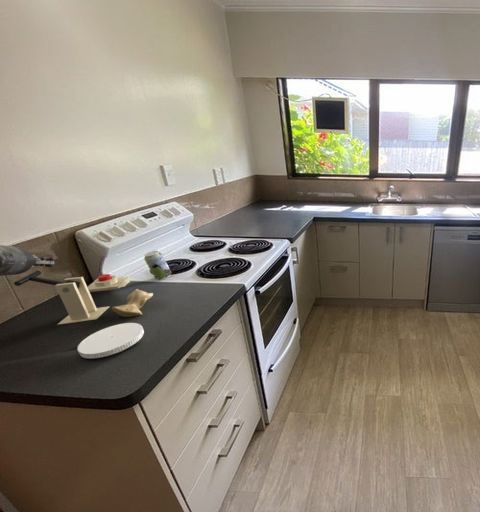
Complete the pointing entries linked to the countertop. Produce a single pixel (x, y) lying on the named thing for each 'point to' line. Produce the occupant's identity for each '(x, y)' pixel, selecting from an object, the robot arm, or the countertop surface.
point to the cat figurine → (133, 304)
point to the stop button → (104, 277)
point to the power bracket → (78, 301)
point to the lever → (40, 280)
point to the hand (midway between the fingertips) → (36, 260)
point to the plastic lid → (110, 340)
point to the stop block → (108, 284)
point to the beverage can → (157, 265)
